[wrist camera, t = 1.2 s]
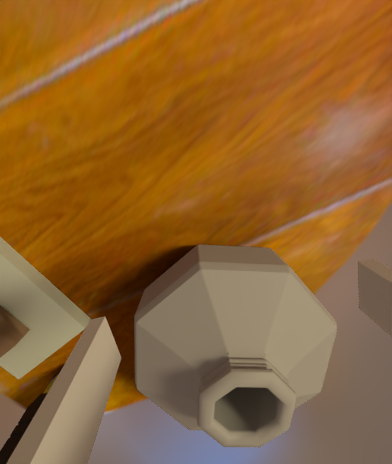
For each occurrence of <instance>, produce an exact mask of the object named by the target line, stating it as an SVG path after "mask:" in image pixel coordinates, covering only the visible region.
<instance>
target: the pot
mask: <svg viewBox="0 0 392 464" xmlns="http://www.w3.org/2000/svg"><path fill="white" fill-rule="evenodd" d="M336 332H337V326H336V321H335V320H334V318H333V317H332V316H331V315H330V314H329V313H328V311H327V310H326V309H325V308H324V307H323V306H322V304H321V303H320V302H319V301H318V300H317V299H316V297H315V296H314V295H313V294H312V292H311V291H310V290H309V289H308V288H307V287H306V285H305V284H304V283H303V282H302V281H301V279H300V278H299V277H298V276H297V275H296V274H295V272H294V271H293V270H292V269H291V268H290V266H289V265H287V264H286V263H285V262H284V261H283V260H282V259H281V258H280V257H279V256H278V255H277V254H276V253H275V252H274V251H273V250H272V249H270V248H263V247H242V246H220V245H197V246H195V247H194V248H193V249H192V250H190V251H189V252H188V253H187V254H186V255H185V256H183V257H182V258H181V259H180V260H179V261H177V262H176V263H175V264H174V265H173V266H172V267H170V268H169V269H168V270H167V271H166V272H164V273H163V274H162V275H161V276H160V277H159V278H157V279H156V280H155V281H154V282H153V283H151V284H150V285H149V286H148V287H147V288H146V289H145V290H144V292H143V295H142V298H141V300H140V303H139V306H138V308H137V311H136V314H135V316H134V345H135V384H136V387H137V389H138V391H140V392H141V393H142V394H143V395H145V396H146V397H147V398H149V399H150V400H151V401H152V402H154V403H155V404H156V405H158V406H159V407H160V408H161V409H163V410H164V411H165V412H167V413H168V414H169V415H170V416H172V417H173V418H174V419H176V420H177V421H178V422H179V423H181V424H182V425H183V426H185V427H186V428H187V429H189V430H203V431H205V432H206V433H207V434H209V435H210V436H211V437H212V438H214V439H215V440H216V441H217V442H218V443H220V444H221V445H222V446H224V447H261V446H263V445H264V444H266V443H267V442H269V441H271V440H272V439H274V438H275V437H277V436H278V435H280V434H282V433H283V432H285V431H286V430H288V429H289V428H290V423H291V419H292V415H293V410H294V409H295V408H297V407H299V406H300V405H301V404H303V403H305V402H306V401H308V400H309V399H311V398H312V397H314V396H315V395H317V394H319V393H320V392H321V389H322V385H323V381H324V378H325V374H326V370H327V366H328V362H329V359H330V355H331V351H332V347H333V343H334V340H335V336H336Z"/></svg>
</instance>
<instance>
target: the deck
mask: <svg viewBox="0 0 392 464" xmlns="http://www.w3.org/2000/svg"><path fill="white" fill-rule="evenodd" d="M0 305H1V306H2V307H3V308H4V309H5V310H7V311H8V312H9V313H10V314H12V315H13V316H14V317H15V318H16V319H18V320H19V321H20V322H21V323H22V324H24V325H25V326H26V327H27V328H29V329H30V330H29V331H28V332H27V334H26V335H25V336H24V337H23V338H22V339H21V340H20V341H19V342H18V343H17V344H16V346H14V347H13V348H12V349H11V350H9V351H8V352H7V353H6V354H4V355H3V356H2V357H1V358H0V366H1V367H3V368H4V369H5V370H7V371H8V372H9V373H11V374H12V375H13V376H15V377H16V378H17V379H20V378H21V377H23V376H24V375H25V374H27V373H28V372H29V371H31V370H32V369H33V368H34V367H36V366H37V365H38V364H40V363H41V362H42V361H44V360H45V359H46V358H47V357H49V356H50V355H51V354H53V353H54V352H55V351H57V350H58V349H59V348H61V347H62V346H63V345H64V344H66V343H67V342H68V341H70V340H71V339H72V338H74V337H75V336H76V335H78V334H79V333H80V332H81V331H83V330H84V329H85V328H86V327H87V325H88V323H89V322H90V320H91V318H90V317H88V316H87V315H86V314H85V313H84V312H83V311H82V310H81V309H80V308H78V307H77V306H76V305H75V304H74V303H73V302H72V301H71V300H70V299H68V298H67V297H66V296H65V295H64V294H63V293H62V292H61V291H60V290H59V289H57V288H56V287H55V286H54V285H53V284H52V283H51V282H50V281H49V280H47V279H46V278H45V277H44V276H43V275H42V274H41V273H40V272H39V271H37V270H36V269H35V268H34V267H33V266H32V265H31V264H30V263H29V262H27V261H26V260H25V259H24V258H23V257H22V256H21V255H20V254H19V253H18V252H16V251H15V250H14V249H13V248H12V247H11V246H10V245H9V244H8V243H6V242H5V241H4V240H3V239H2V238H1V237H0Z"/></svg>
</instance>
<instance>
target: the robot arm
mask: <svg viewBox="0 0 392 464" xmlns="http://www.w3.org/2000/svg"><path fill="white" fill-rule="evenodd" d="M358 288H359V308H360V309H361V310H362V311H363V312H364V313H365V314H366V315H368V316H369V317H370V318H371V319H372V320H373V321H374V322H375V323H377V324H378V325H379V326H380V327H381V328H382V329H383V330H385V331H386V332H387V333H388V334H389V335H390V336H391V337H392V269H391V268H389V267H388V266H386V265H384V264H382V263H380V262H378V261H376V260H375V259H369V260H364V261H359V262H358ZM120 361H121V355H120V353H119V350H118V348H117V345H116V343H115V340H114V337H113V335H112V332H111V330H110V327H109V325H108V322H107V320H106V317H105V316H104V317H100V318H95V319H91V320H90V322H89V324H88V325H87V327H86V329H85V330H84V332H83V334H82V335H81V337H80V339H79V341H78V342H77V344H76V346H75V347H74V349H73V351H72V353H71V354H70V356H69V358H68V359H67V361H66V363H65V365H64V366H63V368H62V370H61V371H60V373H59V375H58V376H57V378H56V380H55V382H54V383H53V385H52V387H51V388H50V390H49V392H48V393H43V394H40V395H39V396H38V397H37V398H36V400H35V401H34V402H33V403H32V404H31V405H30V406H29V407H28V408H27V410H26V411H25V413H24V414H23V416H22V418H21V419H20V421H19V422H18V425H17V426H16V427H15V429H14V430H13V432H12V434H11V436H10V438H9V439H8V440H7V441H6V443H5V445H4V446H3V448H2V449H1V451H0V464H87V463H88V460H89V457H90V454H91V451H92V448H93V445H94V442H95V438H96V435H97V432H98V429H99V426H100V423H101V420H102V417H103V414H104V411H105V408H106V405H107V401H108V398H109V395H110V392H111V389H112V386H113V383H114V380H115V377H116V374H117V370H118V367H119V364H120Z"/></svg>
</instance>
